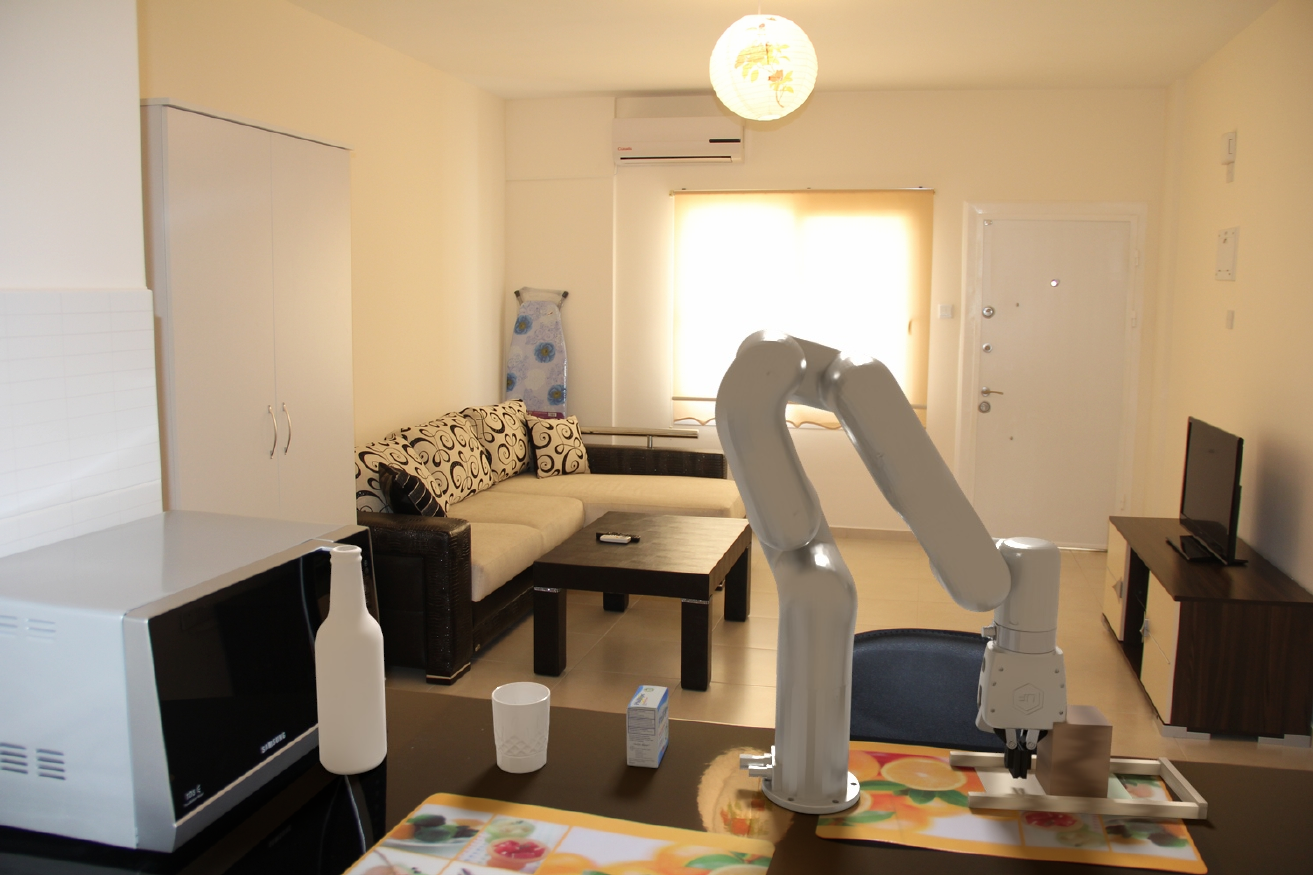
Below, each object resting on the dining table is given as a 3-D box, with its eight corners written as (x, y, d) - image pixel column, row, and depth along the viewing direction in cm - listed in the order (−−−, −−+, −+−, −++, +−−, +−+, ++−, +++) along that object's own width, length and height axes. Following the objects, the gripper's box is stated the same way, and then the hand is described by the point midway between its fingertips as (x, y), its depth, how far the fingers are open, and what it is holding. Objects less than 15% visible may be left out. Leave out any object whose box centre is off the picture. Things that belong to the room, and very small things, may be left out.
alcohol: (307, 771, 133) (296, 554, 128) (342, 743, 141) (334, 538, 137) (366, 779, 131) (358, 559, 126) (398, 750, 139) (392, 542, 135)
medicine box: (657, 769, 134) (658, 708, 133) (625, 766, 135) (626, 705, 134) (668, 743, 142) (669, 686, 141) (638, 740, 143) (638, 683, 141)
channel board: (968, 818, 122) (969, 791, 122) (948, 771, 134) (949, 747, 133) (1205, 830, 120) (1207, 803, 119) (1163, 782, 132) (1165, 757, 131)
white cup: (562, 758, 137) (561, 689, 136) (525, 781, 131) (524, 709, 129) (518, 744, 141) (517, 677, 140) (480, 766, 135) (479, 696, 133)
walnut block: (1049, 798, 124) (1054, 723, 123) (1035, 775, 130) (1039, 703, 128) (1106, 801, 123) (1112, 725, 122) (1090, 778, 129) (1095, 705, 128)
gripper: (970, 645, 121) (963, 785, 124) (1096, 648, 120) (1087, 790, 123) (957, 625, 129) (951, 758, 131) (1075, 628, 127) (1067, 762, 130)
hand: (1016, 773), depth 127 cm, fingers closed
